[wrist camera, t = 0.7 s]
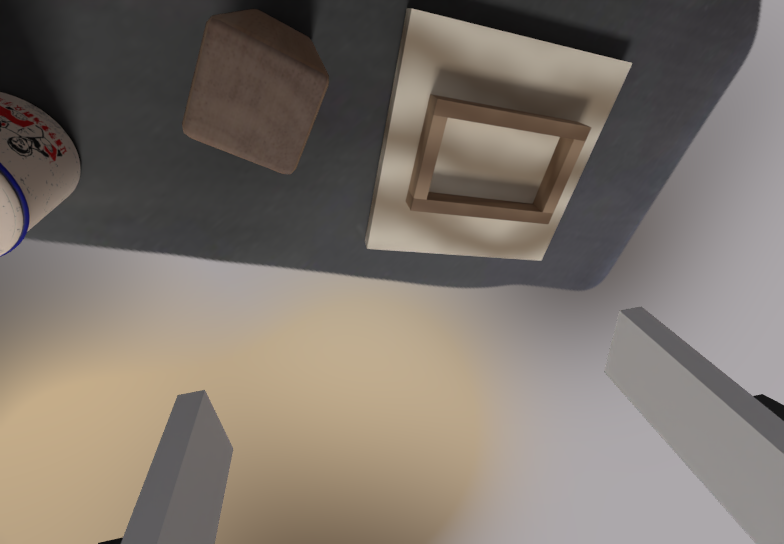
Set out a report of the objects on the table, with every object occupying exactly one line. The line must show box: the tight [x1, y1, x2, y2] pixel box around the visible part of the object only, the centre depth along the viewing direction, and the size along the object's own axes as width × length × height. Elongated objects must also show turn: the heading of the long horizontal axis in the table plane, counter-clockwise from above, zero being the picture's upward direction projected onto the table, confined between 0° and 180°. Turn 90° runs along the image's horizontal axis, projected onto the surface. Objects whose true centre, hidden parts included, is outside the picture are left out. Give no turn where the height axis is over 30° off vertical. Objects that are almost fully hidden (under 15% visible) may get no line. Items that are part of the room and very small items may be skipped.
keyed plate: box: [365, 8, 632, 261], centre depth 36 cm, size 20×20×4 cm
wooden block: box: [182, 9, 329, 174], centre depth 23 cm, size 9×4×18 cm, turn 152°
